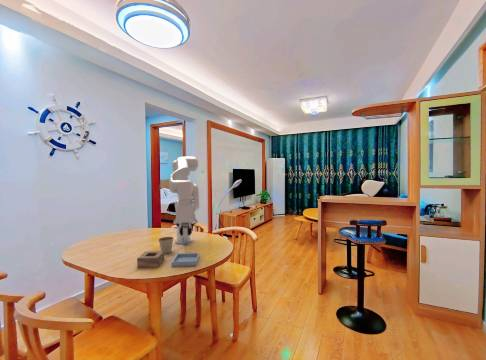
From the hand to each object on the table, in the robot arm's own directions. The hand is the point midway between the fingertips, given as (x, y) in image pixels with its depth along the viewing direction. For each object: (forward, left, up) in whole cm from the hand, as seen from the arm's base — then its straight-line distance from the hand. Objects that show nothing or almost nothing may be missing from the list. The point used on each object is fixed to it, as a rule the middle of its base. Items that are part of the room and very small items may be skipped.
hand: (185, 234), depth 129 cm
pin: (0, 0, -6) cm, 6 cm away
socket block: (+1, -19, -15) cm, 25 cm away
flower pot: (-17, -16, -16) cm, 28 cm away
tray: (0, 0, -15) cm, 15 cm away
